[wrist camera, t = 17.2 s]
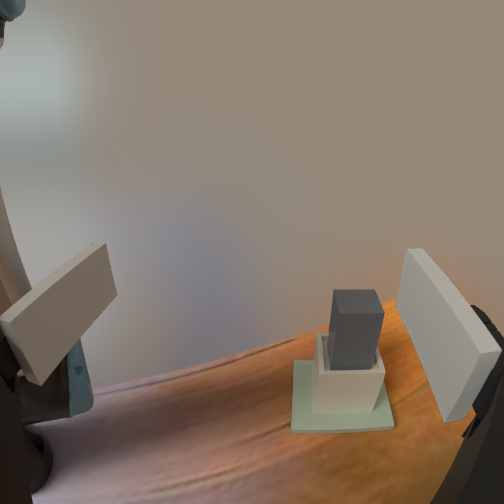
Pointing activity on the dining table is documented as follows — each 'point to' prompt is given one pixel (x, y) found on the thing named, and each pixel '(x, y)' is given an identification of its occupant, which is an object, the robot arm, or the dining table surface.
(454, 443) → the dining table surface
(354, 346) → the charcoal brick
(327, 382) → the cream base brick
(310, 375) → the green baseplate
